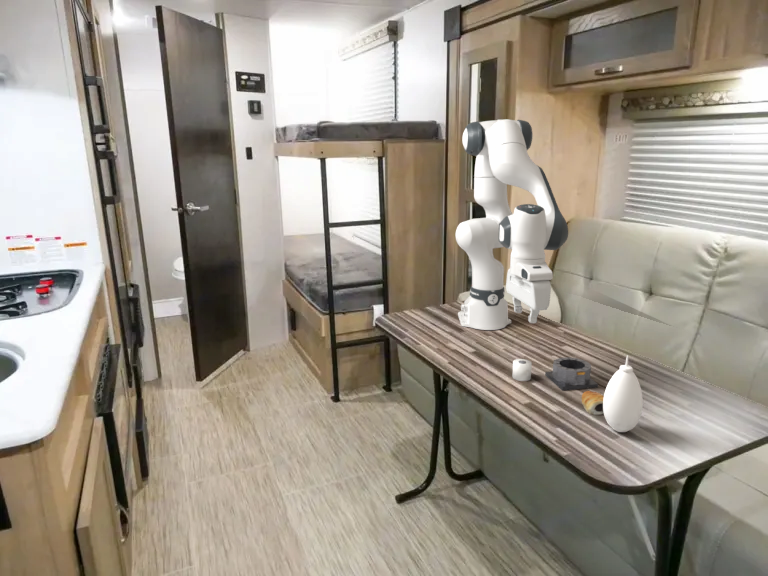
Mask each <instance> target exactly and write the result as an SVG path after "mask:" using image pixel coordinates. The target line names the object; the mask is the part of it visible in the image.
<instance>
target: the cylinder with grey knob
mask: <svg viewBox="0 0 768 576" xmlns="http://www.w3.org/2000/svg"><path fill="white" fill-rule="evenodd" d="M532 363H533V362H532V361H531V360H529V359H526V358H525V359H524V358H515V359H514V360H513V361H512V376H511V377H512V379H514V380H515V381H519V382H527V381H528V382H529V381H530V380H532Z"/></svg>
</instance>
